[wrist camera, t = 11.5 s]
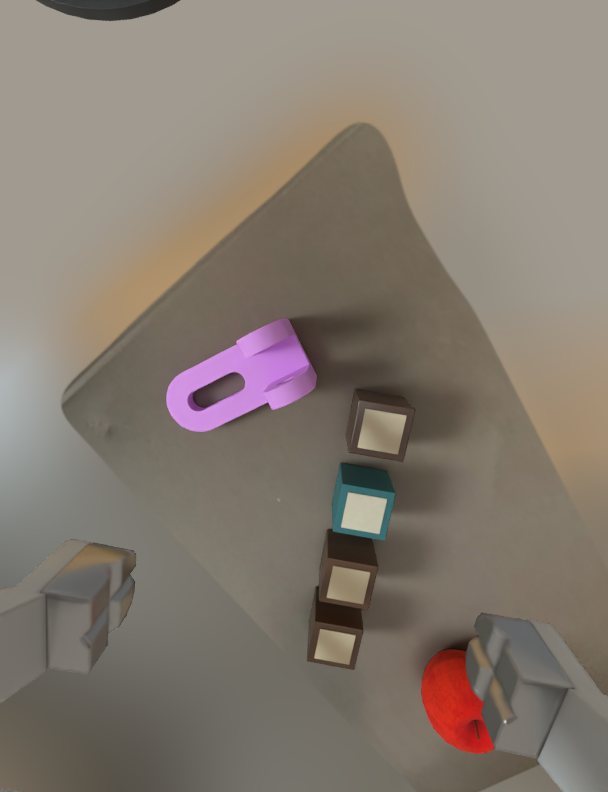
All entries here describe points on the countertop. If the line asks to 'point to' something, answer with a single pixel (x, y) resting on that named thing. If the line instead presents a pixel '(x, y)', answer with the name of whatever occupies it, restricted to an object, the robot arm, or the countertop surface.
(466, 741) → the apple
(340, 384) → the countertop surface
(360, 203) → the countertop surface
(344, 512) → the letter block
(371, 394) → the block
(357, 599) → the block
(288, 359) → the bracket
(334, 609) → the block
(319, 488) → the countertop surface
